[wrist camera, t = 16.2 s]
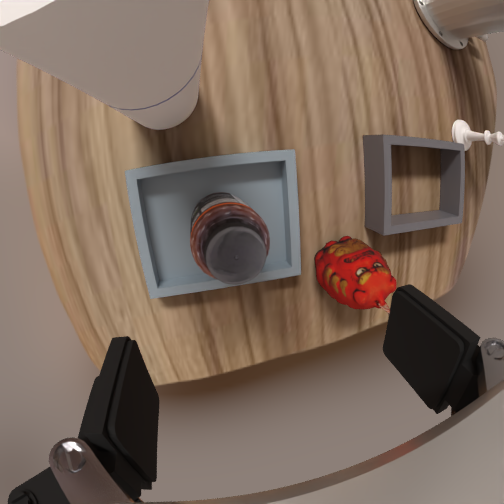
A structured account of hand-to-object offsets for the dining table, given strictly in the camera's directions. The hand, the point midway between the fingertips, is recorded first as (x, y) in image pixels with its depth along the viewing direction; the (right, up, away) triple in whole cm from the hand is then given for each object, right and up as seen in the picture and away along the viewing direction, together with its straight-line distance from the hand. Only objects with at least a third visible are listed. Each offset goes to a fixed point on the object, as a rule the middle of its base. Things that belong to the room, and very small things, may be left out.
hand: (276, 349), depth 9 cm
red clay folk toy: (+10, +2, +25) cm, 27 cm away
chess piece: (+31, +21, +23) cm, 44 cm away
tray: (-4, +7, +20) cm, 22 cm away
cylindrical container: (-10, +19, +15) cm, 26 cm away
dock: (+20, +13, +23) cm, 33 cm away
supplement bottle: (-4, +7, +20) cm, 21 cm away
